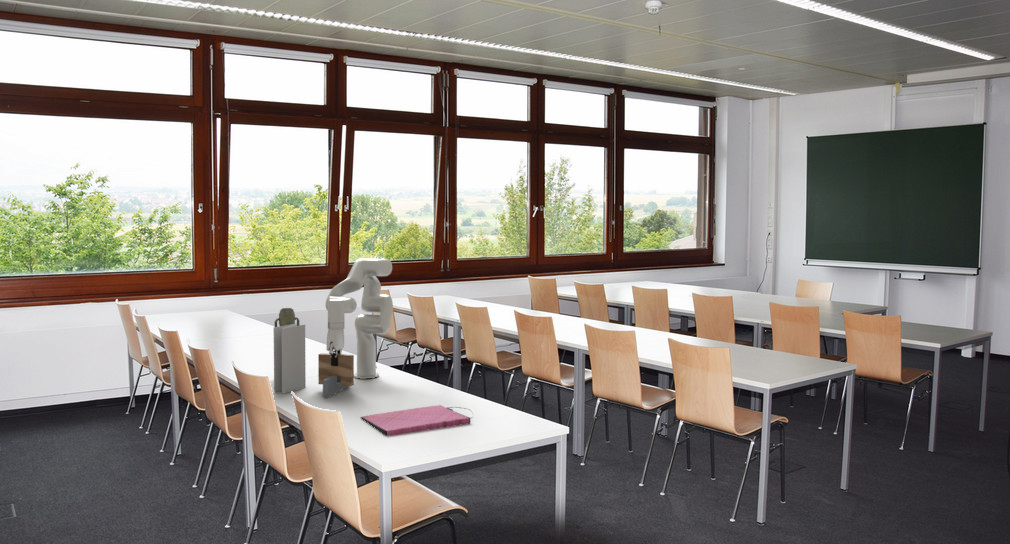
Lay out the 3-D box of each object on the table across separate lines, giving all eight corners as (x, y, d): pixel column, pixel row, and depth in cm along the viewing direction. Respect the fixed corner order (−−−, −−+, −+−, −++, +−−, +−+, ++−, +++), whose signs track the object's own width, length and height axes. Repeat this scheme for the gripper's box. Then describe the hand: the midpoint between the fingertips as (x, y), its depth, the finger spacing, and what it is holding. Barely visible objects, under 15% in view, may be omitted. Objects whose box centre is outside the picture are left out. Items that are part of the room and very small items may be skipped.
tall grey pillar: (297, 386, 357) (296, 323, 355) (305, 387, 355) (305, 324, 352) (274, 391, 345) (273, 327, 343) (282, 393, 342) (282, 328, 340)
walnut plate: (321, 382, 350) (321, 353, 349) (353, 384, 347) (353, 354, 346) (318, 384, 347) (318, 354, 346) (351, 386, 344) (351, 356, 343)
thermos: (272, 378, 373) (271, 308, 370) (295, 375, 380) (295, 306, 377) (278, 381, 366) (277, 310, 363) (302, 378, 373) (301, 308, 370)
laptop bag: (386, 427, 280) (360, 411, 303) (386, 437, 281) (360, 421, 304) (479, 412, 301) (448, 399, 324) (479, 422, 301) (449, 408, 324)
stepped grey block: (343, 385, 360) (343, 369, 359) (348, 385, 359) (348, 369, 359) (322, 397, 336) (322, 379, 336) (328, 397, 336) (328, 380, 335)
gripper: (335, 323, 354) (335, 361, 355) (320, 327, 338) (320, 368, 339) (350, 323, 353) (350, 362, 354) (336, 328, 337) (336, 369, 338)
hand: (336, 364), depth 347 cm, fingers closed on walnut plate, 3 cm apart
